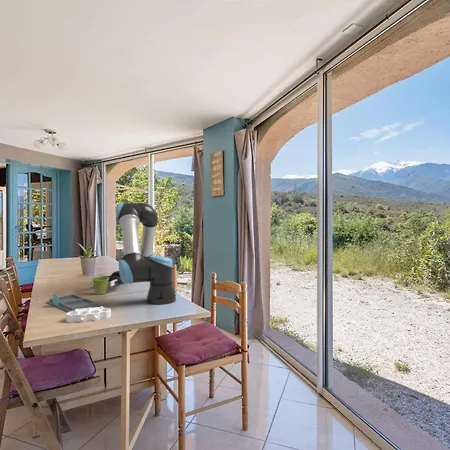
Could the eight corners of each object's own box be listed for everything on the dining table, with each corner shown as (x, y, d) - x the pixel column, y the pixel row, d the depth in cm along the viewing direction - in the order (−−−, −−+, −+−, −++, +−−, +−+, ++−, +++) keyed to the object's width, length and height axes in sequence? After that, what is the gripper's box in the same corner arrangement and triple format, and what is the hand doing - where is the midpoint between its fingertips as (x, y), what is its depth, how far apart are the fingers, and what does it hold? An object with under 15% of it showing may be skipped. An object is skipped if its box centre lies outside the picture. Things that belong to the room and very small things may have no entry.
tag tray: (100, 306, 160) (100, 294, 160) (69, 312, 149) (69, 300, 149) (76, 297, 178) (75, 286, 178) (46, 302, 167) (46, 291, 167)
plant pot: (103, 296, 181) (103, 280, 180) (88, 295, 183) (88, 279, 182) (112, 292, 190) (112, 277, 190) (97, 291, 192) (97, 276, 192)
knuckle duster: (110, 311, 153) (111, 320, 139) (67, 315, 146) (64, 325, 133) (110, 304, 153) (111, 312, 139) (67, 308, 146) (64, 317, 133)
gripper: (137, 283, 204) (119, 290, 184) (101, 281, 209) (80, 289, 189) (137, 271, 204) (119, 277, 183) (101, 270, 209) (80, 276, 188)
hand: (99, 283), depth 186 cm, fingers open, 13 cm apart
